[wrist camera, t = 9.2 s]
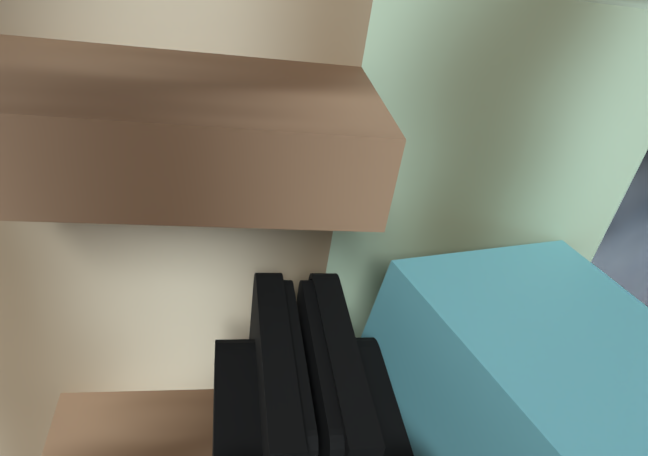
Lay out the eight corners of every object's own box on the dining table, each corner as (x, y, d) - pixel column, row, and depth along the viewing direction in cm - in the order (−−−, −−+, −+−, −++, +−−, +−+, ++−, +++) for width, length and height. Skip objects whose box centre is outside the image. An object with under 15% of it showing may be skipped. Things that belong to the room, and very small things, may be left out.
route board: (875, 19, 14) (1221, 109, 9) (645, 367, 21) (771, 522, 16) (-440, -156, 9) (-1265, -162, 4) (-159, 384, 16) (-330, 621, 11)
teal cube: (561, 240, 13) (781, 413, 9) (477, 383, 15) (625, 559, 12) (391, 260, 10) (606, 507, 7) (324, 428, 13) (455, 668, 9)
